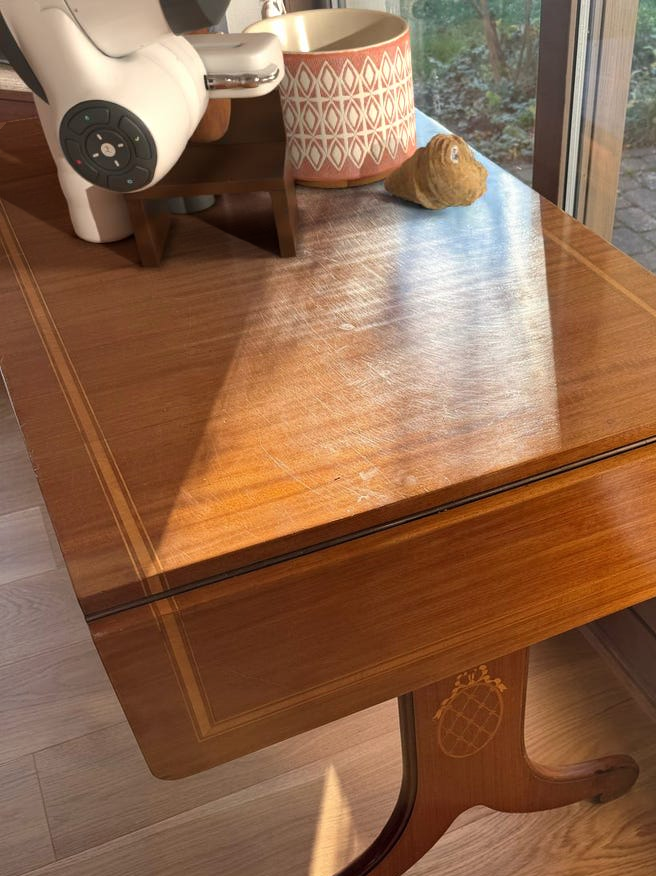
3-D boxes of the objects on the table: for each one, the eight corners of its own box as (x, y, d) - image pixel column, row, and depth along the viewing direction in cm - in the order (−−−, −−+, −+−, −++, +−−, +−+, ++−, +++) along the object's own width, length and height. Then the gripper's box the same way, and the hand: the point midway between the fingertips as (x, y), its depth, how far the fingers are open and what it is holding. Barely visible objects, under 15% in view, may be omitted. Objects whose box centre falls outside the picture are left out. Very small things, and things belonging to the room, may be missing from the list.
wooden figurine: (158, 143, 98) (115, -35, 88) (191, 125, 102) (154, -49, 91) (214, 151, 96) (177, -31, 86) (246, 132, 100) (215, -44, 89)
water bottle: (153, 223, 111) (86, -43, 93) (118, 248, 106) (39, -26, 88) (101, 216, 112) (24, -46, 95) (63, 241, 108) (-25, -30, 90)
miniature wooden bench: (142, 267, 103) (106, 134, 93) (157, 221, 111) (124, 95, 102) (296, 256, 104) (275, 123, 94) (298, 212, 112) (279, 86, 103)
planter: (321, 208, 113) (302, 63, 102) (234, 165, 123) (208, 30, 113) (449, 164, 121) (443, 27, 111) (358, 128, 132) (344, -1, 121)
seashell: (400, 233, 118) (363, 221, 111) (392, 161, 116) (354, 145, 109) (503, 207, 111) (471, 193, 104) (495, 131, 110) (462, 111, 103)
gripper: (268, 40, 82) (288, 0, 92) (24, 47, 82) (70, 7, 92) (280, 121, 86) (298, 75, 96) (49, 129, 86) (90, 82, 96)
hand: (185, 42), depth 94 cm, fingers closed on wooden figurine, 5 cm apart
